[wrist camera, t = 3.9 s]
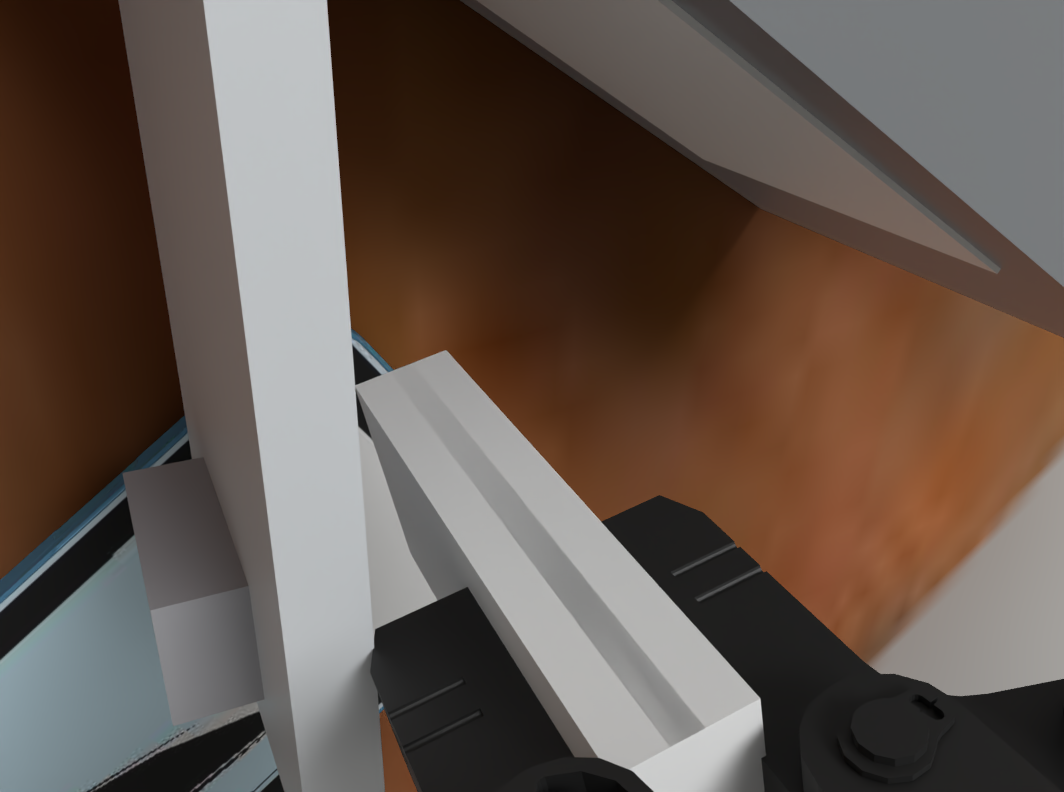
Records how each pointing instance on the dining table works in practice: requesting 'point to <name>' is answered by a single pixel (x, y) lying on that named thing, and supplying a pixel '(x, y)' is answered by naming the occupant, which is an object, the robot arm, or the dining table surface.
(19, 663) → the smartphone
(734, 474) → the dining table surface
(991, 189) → the camera body
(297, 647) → the door
